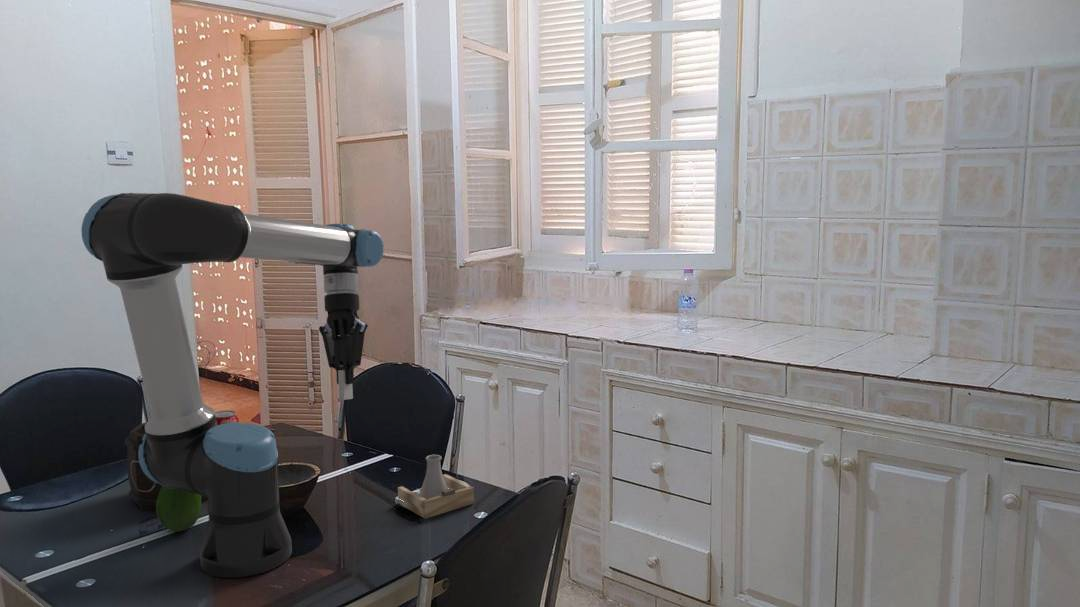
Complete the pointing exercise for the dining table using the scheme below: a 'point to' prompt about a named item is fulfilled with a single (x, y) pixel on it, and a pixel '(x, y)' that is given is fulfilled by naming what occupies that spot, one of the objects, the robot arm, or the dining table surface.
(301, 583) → the dining table surface
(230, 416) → the soda can
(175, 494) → the avocado
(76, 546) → the dining table surface
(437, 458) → the flask
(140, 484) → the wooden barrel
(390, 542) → the dining table surface
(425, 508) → the u-shaped wooden frame
